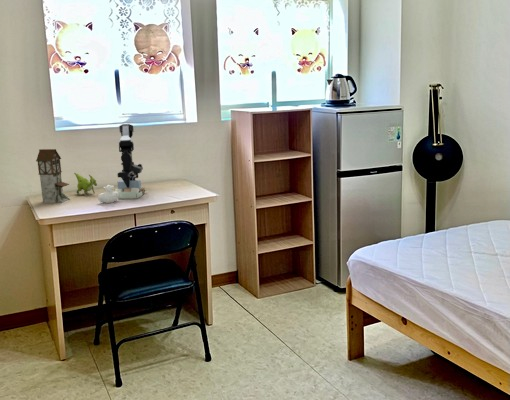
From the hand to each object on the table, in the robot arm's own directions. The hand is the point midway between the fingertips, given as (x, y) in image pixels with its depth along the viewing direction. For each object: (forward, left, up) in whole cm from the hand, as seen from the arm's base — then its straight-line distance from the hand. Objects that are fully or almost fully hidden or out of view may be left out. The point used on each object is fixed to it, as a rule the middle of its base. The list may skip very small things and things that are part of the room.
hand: (129, 186), depth 328 cm
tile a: (+4, -5, -2) cm, 7 cm away
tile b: (+3, 0, -2) cm, 4 cm away
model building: (+16, -38, -5) cm, 42 cm away
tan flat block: (-3, 0, -5) cm, 6 cm away
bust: (+20, -4, -5) cm, 22 cm away
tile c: (+3, +5, -3) cm, 6 cm away
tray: (+6, 0, -5) cm, 8 cm away
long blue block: (0, 0, -2) cm, 2 cm away
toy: (-4, -29, -5) cm, 30 cm away
